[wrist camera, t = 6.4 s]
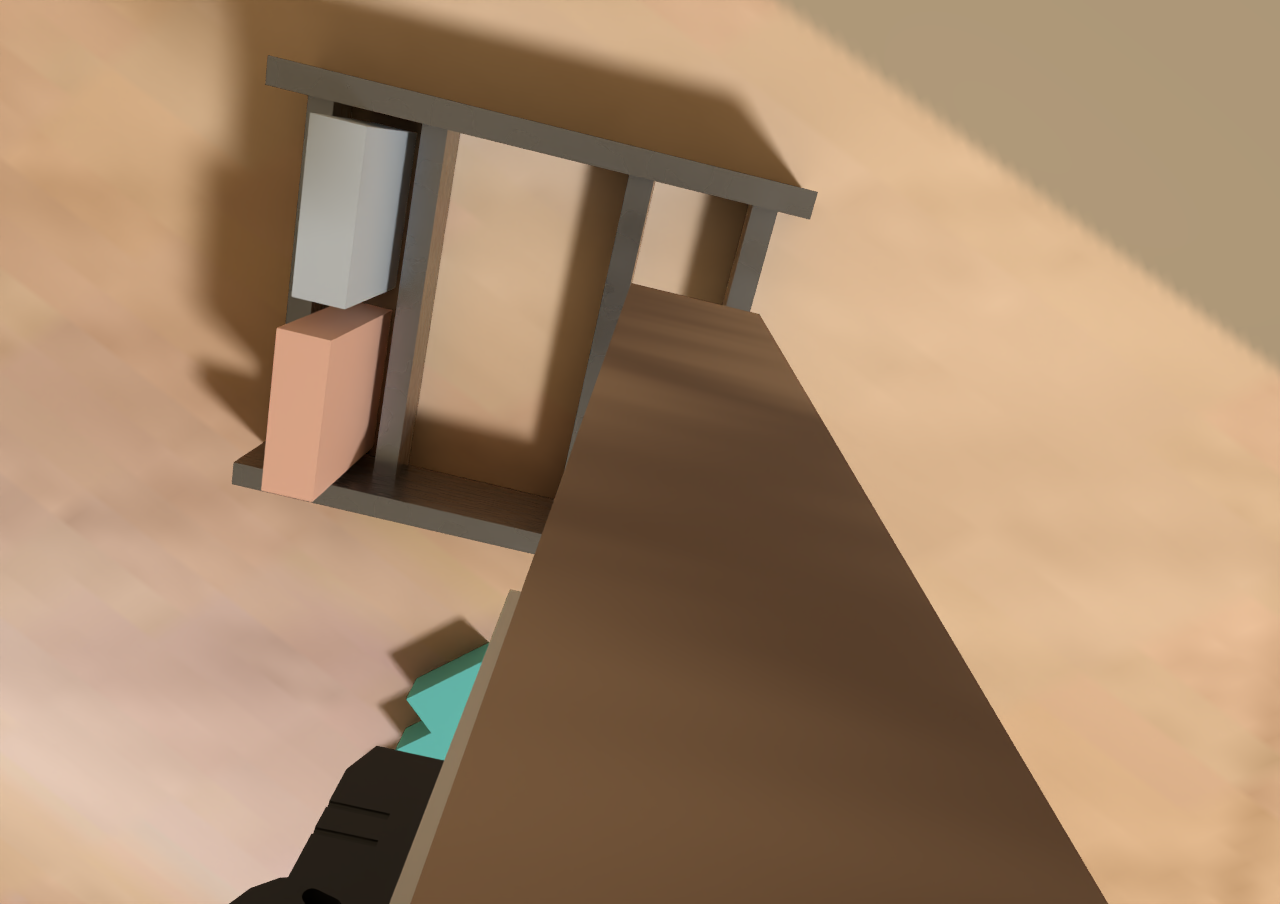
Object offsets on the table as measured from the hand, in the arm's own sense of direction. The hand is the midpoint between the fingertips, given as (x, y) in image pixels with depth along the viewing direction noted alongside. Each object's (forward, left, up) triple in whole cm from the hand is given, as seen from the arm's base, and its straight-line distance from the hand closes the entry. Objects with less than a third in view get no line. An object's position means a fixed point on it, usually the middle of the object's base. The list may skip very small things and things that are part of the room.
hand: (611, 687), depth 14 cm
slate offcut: (-13, +4, -25) cm, 28 cm away
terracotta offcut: (-13, -4, -25) cm, 28 cm away
